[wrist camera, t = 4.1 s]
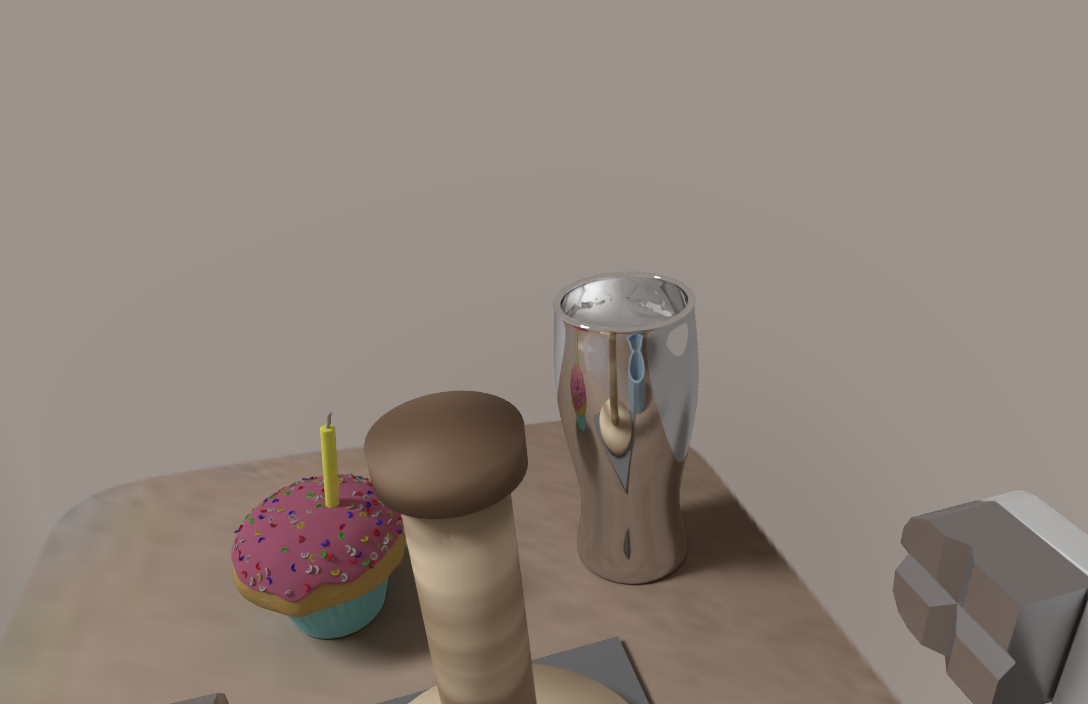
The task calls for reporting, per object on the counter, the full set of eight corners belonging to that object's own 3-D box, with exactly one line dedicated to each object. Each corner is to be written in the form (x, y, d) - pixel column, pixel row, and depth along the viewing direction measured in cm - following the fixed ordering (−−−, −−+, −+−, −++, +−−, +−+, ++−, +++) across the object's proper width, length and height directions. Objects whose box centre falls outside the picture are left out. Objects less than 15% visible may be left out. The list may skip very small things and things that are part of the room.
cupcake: (432, 547, 44) (397, 363, 39) (402, 672, 37) (352, 467, 31) (286, 551, 45) (230, 371, 39) (227, 675, 38) (147, 475, 32)
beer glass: (679, 498, 47) (680, 263, 39) (710, 583, 40) (718, 323, 33) (563, 511, 46) (543, 277, 39) (576, 599, 40) (555, 340, 33)
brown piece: (745, 948, 26) (780, 525, 17) (345, 1097, 23) (157, 687, 15) (611, 647, 37) (593, 300, 28) (332, 725, 34) (220, 370, 26)
